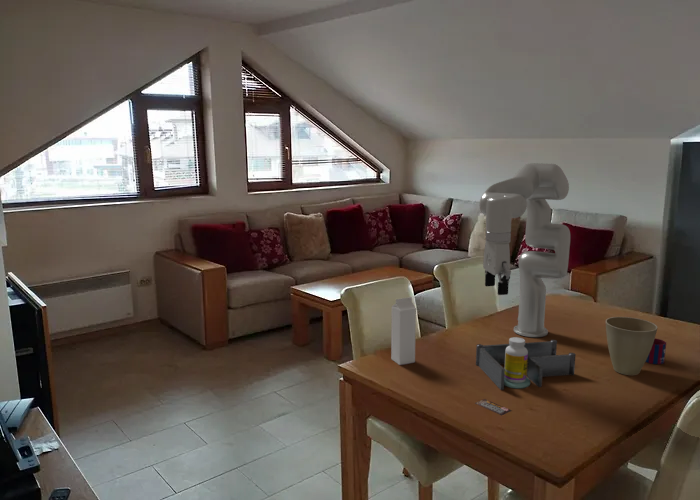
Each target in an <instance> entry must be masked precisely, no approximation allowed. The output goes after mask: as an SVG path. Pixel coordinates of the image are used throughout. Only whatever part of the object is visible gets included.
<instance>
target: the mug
mask: <svg viewBox="0 0 700 500" xmlns="http://www.w3.org/2000/svg"><path fill="white" fill-rule="evenodd" d="M666 349H667V341H665V340H663V339H660V338H656V337H655V339H654V342H653V345H652V348H651V350H650V353H649V355H648V357H647V360H646V362H645V363H647V364H653V365H662V364H665V360H666V359H665V357H666Z"/></svg>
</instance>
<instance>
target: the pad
mask: <svg viewBox="0 0 700 500" xmlns="http://www.w3.org/2000/svg"><path fill="white" fill-rule="evenodd" d="M530 385H531V380H530V379H529V378H528V377H527V376H526V381H524V382H522V383H513V382H509V381H507V380H506V379H505V378H504V387H508V388H509V389H510V388H511V389H525V388H528V387H530Z"/></svg>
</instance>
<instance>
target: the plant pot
mask: <svg viewBox="0 0 700 500" xmlns="http://www.w3.org/2000/svg"><path fill="white" fill-rule="evenodd" d="M657 331H658V326H657V324H655V323H653V322H652V321H648V320H646V319H641V318H637V317H631V316H629V317H628V316H612V317H608V318H606V319H605V333H606V341H607V347H608V352H609V357H610V362H611V364H612V368H613V371H615V372H616V373H619V374H621V375H624V376H625V375H626V376H637V375H639V374H640V372H641V370H642V369H643V368H644V365H645V364H646V363H647V362H646V360H647V357H648V355H649V353H650V350H651V348H652V345H653V342H654V339H655V338H656V336H657Z"/></svg>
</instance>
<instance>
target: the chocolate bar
mask: <svg viewBox="0 0 700 500" xmlns="http://www.w3.org/2000/svg"><path fill="white" fill-rule="evenodd" d="M474 404H475V405H478V406H479V407H483V408H484V409H486V410H489V411H491V412H493V413H496V414H498V415H500V416H501V417H503V416H505V415H506V414H508V413H510V412H513V410H511V409H509V408H506V407H505V406H501V405H499V404H497V403H495V402H492V401H490V400H489V399H486V398H484V399H481V400H479V401H476V402H474Z"/></svg>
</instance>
